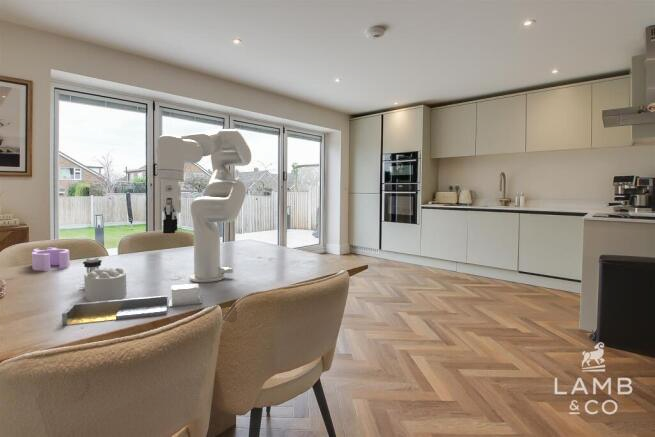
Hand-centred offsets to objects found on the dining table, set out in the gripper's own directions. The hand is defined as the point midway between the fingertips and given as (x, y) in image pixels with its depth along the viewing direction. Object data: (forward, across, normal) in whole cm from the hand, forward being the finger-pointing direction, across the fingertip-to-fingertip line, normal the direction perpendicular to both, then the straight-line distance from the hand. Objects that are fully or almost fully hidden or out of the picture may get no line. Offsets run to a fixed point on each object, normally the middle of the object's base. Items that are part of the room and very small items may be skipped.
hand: (170, 231), depth 107 cm
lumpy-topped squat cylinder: (+22, +9, +19) cm, 30 cm away
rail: (+22, -10, +12) cm, 27 cm away
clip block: (+21, -4, -5) cm, 22 cm away
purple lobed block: (+20, +63, +53) cm, 85 cm away
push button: (+21, +21, +27) cm, 40 cm away
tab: (+21, -4, -5) cm, 22 cm away
